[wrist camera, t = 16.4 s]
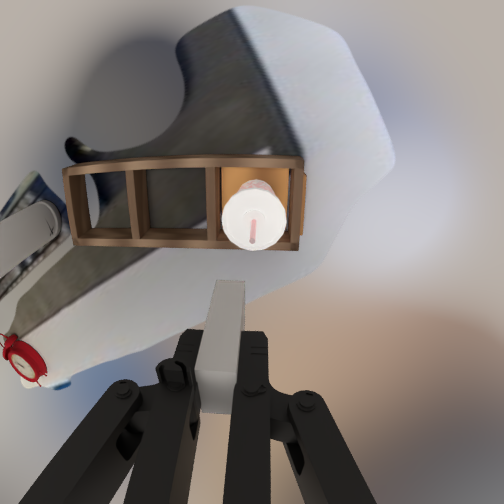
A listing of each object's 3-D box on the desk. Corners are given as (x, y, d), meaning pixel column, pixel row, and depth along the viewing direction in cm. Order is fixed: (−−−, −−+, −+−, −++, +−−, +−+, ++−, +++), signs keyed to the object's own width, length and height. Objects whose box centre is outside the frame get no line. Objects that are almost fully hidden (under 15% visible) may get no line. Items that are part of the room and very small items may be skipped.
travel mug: (69, 221, 39) (-22, 287, 20) (49, 244, 40) (-32, 312, 22) (47, 189, 37) (-51, 241, 18) (28, 215, 38) (-59, 271, 20)
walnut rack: (87, 234, 39) (73, 245, 36) (78, 163, 35) (62, 168, 31) (298, 238, 39) (301, 250, 35) (303, 156, 34) (308, 160, 31)
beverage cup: (254, 231, 38) (250, 288, 25) (220, 196, 37) (197, 238, 24) (291, 199, 36) (307, 243, 24) (257, 162, 35) (254, 186, 22)
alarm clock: (39, 391, 53) (-11, 360, 46) (46, 371, 58) (-2, 342, 51) (48, 376, 49) (-8, 341, 42) (55, 354, 55) (2, 321, 48)
